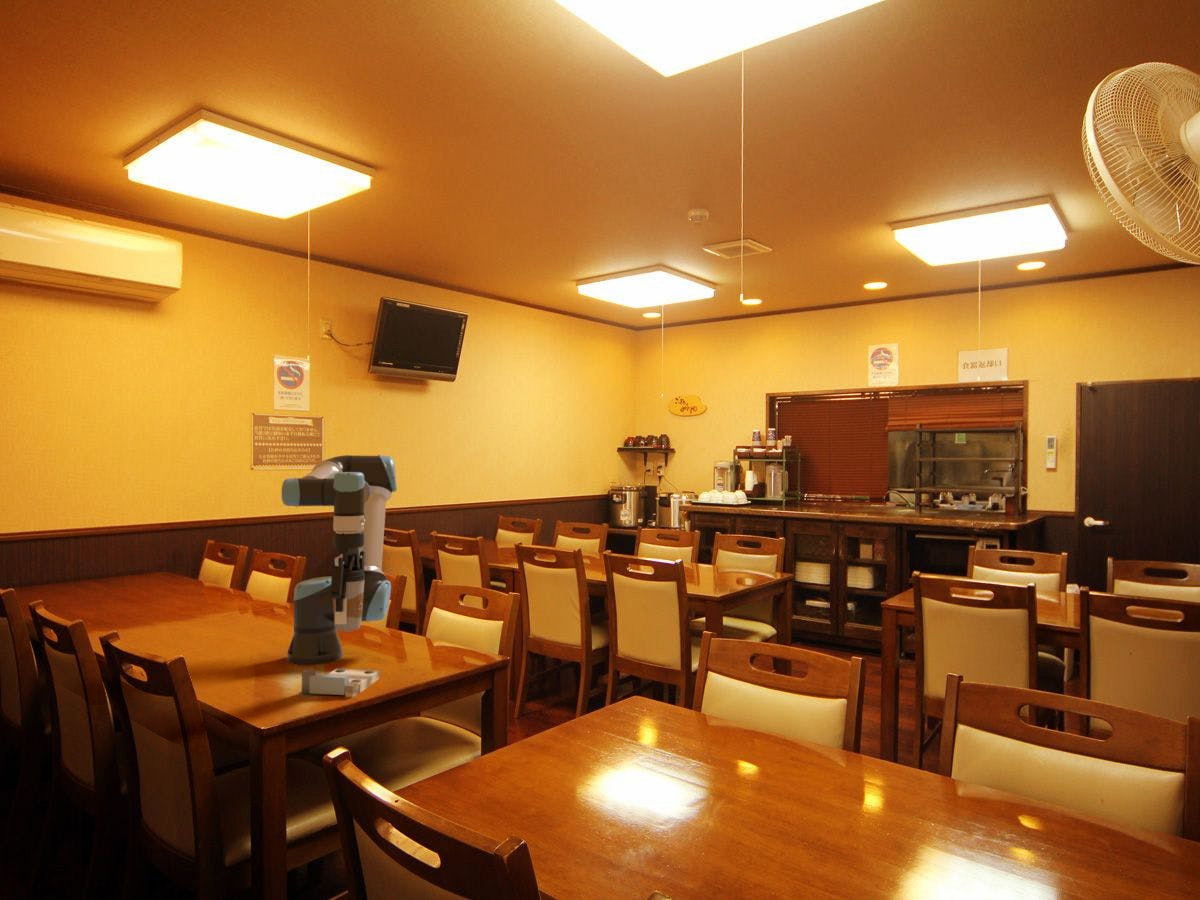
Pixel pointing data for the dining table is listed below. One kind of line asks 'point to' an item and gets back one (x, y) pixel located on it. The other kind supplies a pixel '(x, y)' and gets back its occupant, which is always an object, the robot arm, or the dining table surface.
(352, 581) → the coffee cup
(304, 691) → the leg bar
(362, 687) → the seat panel
